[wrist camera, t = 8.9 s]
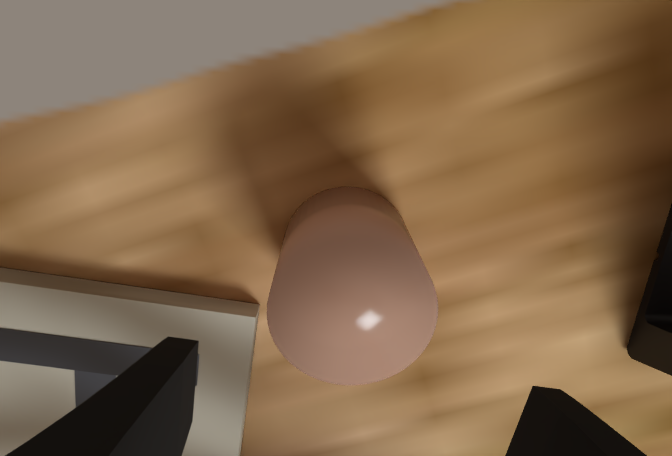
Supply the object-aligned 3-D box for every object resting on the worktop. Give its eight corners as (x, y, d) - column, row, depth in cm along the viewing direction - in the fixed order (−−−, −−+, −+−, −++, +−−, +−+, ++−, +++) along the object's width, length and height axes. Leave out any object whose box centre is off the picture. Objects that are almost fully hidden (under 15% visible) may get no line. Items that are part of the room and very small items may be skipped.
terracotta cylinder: (393, 309, 18) (416, 394, 13) (276, 292, 18) (258, 374, 13) (420, 197, 17) (457, 250, 12) (292, 176, 16) (278, 222, 12)
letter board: (225, 570, 23) (220, 592, 22) (-14, 546, 22) (-30, 569, 21) (259, 304, 18) (255, 318, 17) (-53, 259, 17) (-76, 271, 16)
